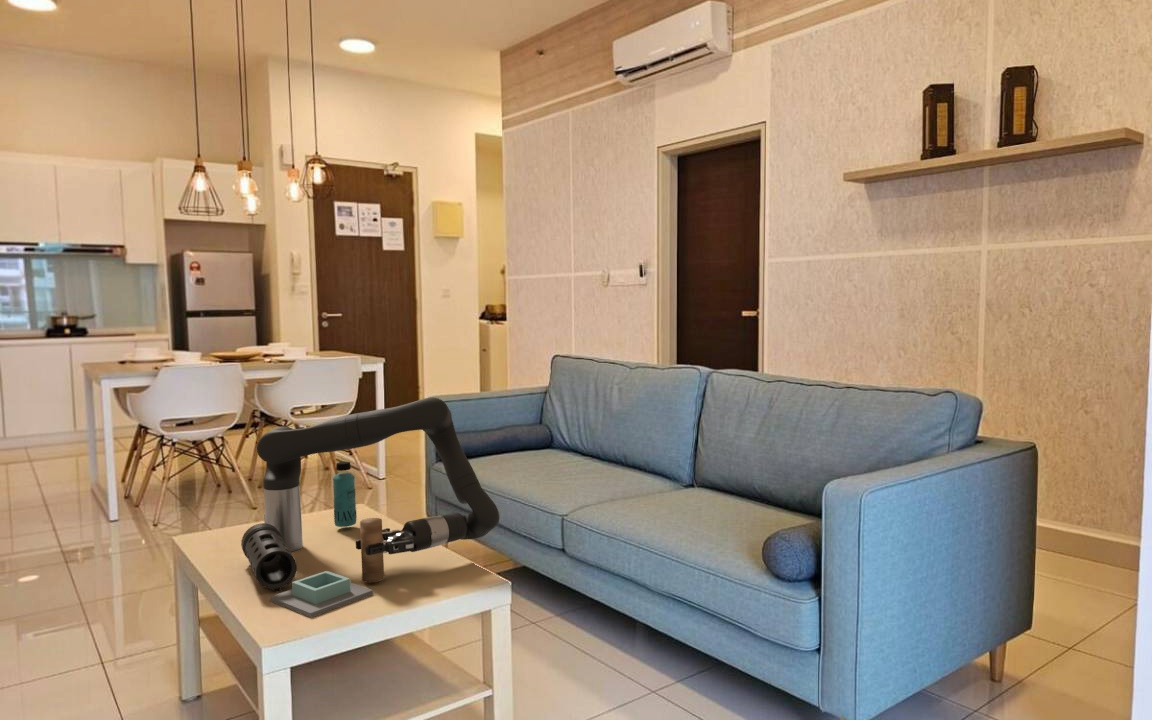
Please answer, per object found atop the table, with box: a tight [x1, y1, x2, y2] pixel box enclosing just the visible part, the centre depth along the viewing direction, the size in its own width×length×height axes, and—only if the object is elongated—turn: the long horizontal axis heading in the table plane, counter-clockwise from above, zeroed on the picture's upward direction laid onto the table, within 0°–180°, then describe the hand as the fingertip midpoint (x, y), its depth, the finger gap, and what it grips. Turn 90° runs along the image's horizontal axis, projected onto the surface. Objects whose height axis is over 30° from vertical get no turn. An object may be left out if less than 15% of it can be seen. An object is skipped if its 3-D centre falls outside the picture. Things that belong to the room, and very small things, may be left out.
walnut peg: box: [359, 517, 385, 583], centre depth 184 cm, size 5×5×14 cm
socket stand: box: [269, 570, 374, 619], centre depth 175 cm, size 16×16×4 cm
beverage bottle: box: [332, 461, 358, 528], centre depth 229 cm, size 6×7×20 cm
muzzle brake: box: [240, 523, 298, 593], centre depth 191 cm, size 10×28×10 cm, turn 29°
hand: (361, 547), depth 182 cm, fingers closed on walnut peg, 5 cm apart
